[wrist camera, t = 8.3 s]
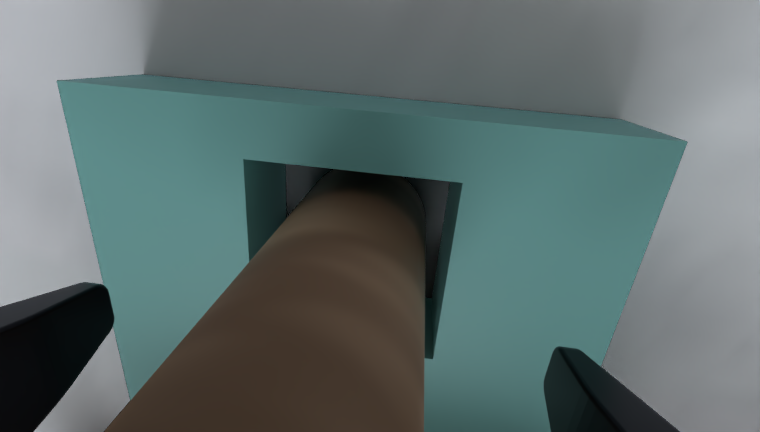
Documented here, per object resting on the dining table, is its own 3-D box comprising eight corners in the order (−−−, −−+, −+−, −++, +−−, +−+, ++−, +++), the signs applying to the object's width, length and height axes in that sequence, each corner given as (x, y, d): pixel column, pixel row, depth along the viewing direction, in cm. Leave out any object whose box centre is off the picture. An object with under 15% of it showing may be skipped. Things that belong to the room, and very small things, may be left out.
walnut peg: (433, 169, 12) (452, 546, 3) (418, 281, 14) (399, 758, 4) (305, 156, 12) (-53, 456, 3) (305, 266, 14) (64, 686, 5)
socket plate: (621, 119, 11) (1028, 256, 4) (500, 506, 17) (553, 835, 10) (142, 74, 12) (-321, 107, 5) (199, 456, 18) (48, 722, 11)
